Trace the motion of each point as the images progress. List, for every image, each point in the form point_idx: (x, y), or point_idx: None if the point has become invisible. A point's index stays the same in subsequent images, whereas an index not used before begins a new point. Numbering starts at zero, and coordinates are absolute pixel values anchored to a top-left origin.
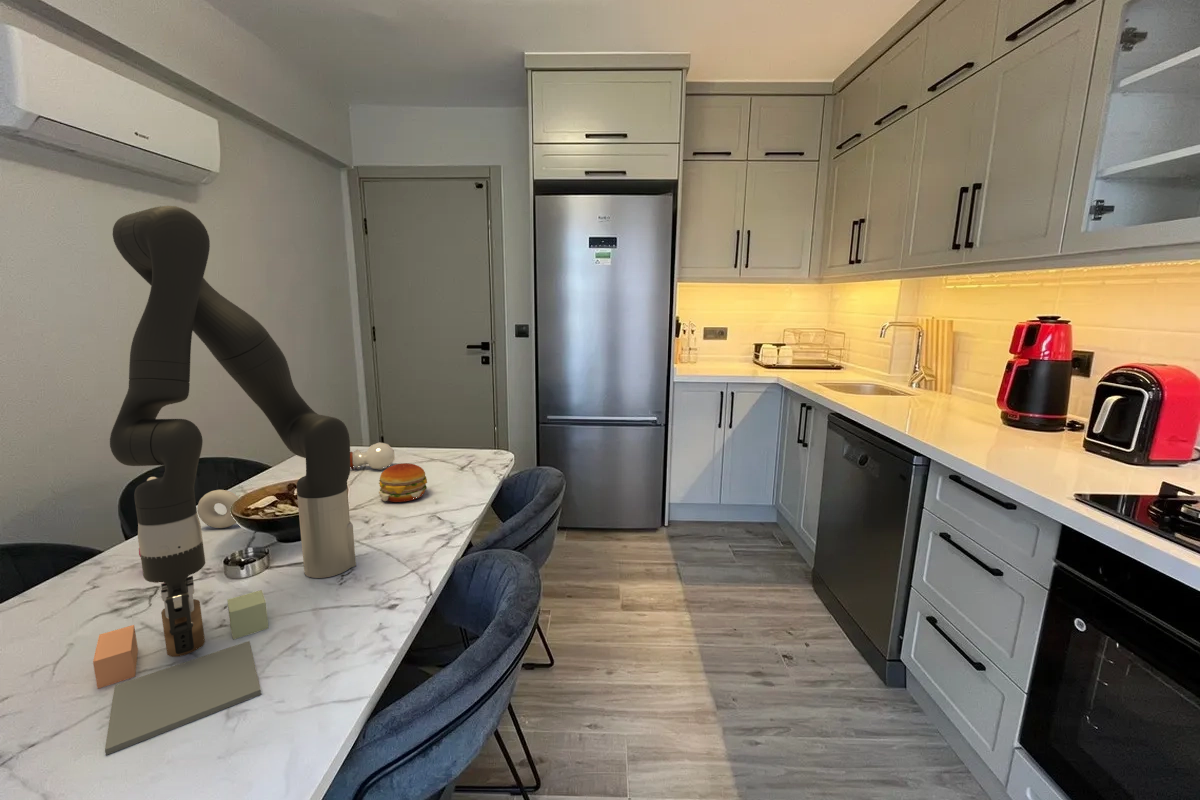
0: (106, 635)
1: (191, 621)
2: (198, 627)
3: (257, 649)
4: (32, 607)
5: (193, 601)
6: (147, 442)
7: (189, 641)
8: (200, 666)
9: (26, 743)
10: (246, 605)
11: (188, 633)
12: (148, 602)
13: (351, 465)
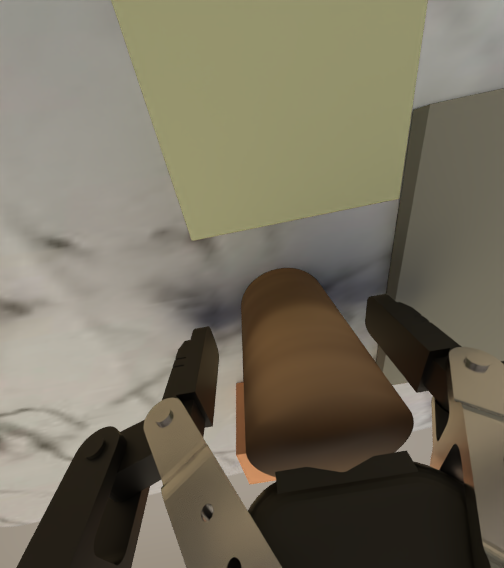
0: (263, 475)
1: (482, 371)
2: (333, 311)
3: (471, 69)
4: (25, 513)
5: (500, 476)
6: None
7: (425, 319)
8: (455, 256)
9: (422, 421)
10: (372, 72)
11: (454, 343)
12: (11, 415)
13: None
